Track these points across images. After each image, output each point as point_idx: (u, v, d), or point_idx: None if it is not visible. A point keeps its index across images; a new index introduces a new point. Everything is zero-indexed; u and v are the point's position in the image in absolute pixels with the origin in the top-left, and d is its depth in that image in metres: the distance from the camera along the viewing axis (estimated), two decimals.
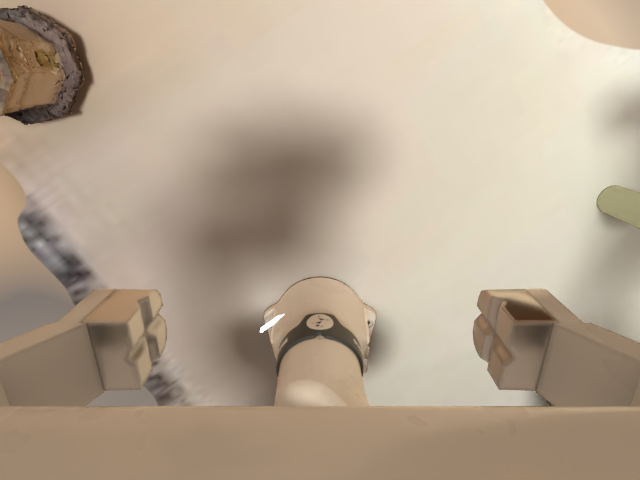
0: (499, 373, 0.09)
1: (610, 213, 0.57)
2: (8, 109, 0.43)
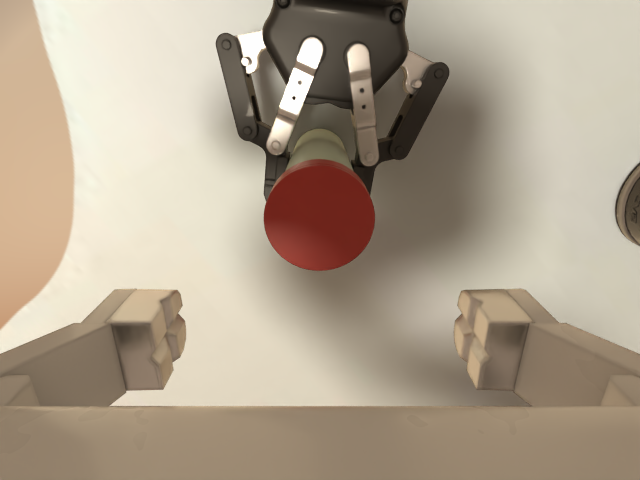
0: (477, 373, 0.09)
1: None
2: None
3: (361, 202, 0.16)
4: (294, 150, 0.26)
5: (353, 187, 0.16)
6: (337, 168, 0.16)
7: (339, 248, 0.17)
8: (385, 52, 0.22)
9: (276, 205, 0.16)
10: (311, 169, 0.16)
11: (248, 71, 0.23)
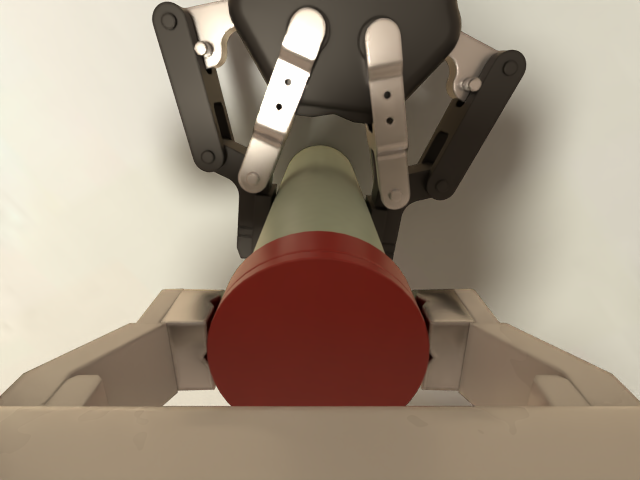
0: None
1: None
2: None
3: (404, 326, 0.08)
4: (282, 182, 0.18)
5: (388, 299, 0.08)
6: (356, 262, 0.08)
7: (357, 405, 0.09)
8: (425, 34, 0.14)
9: (230, 332, 0.08)
10: (301, 265, 0.07)
11: (208, 65, 0.15)
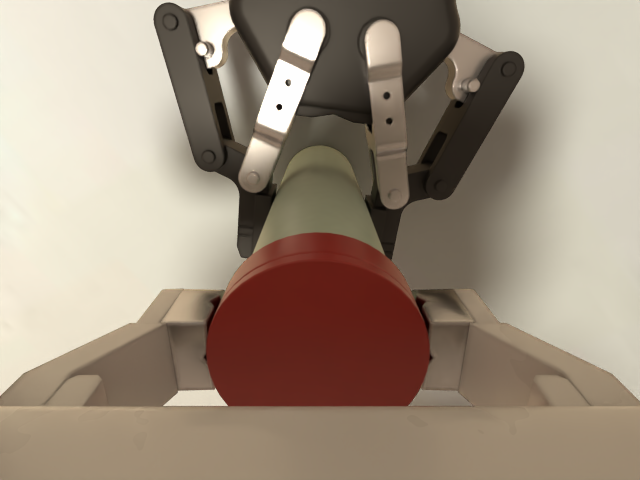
0: None
1: None
2: None
3: (324, 279, 0.08)
4: (282, 182, 0.18)
5: (286, 279, 0.08)
6: (236, 287, 0.08)
7: (391, 355, 0.08)
8: (424, 35, 0.14)
9: None
10: (215, 330, 0.08)
11: (209, 65, 0.15)
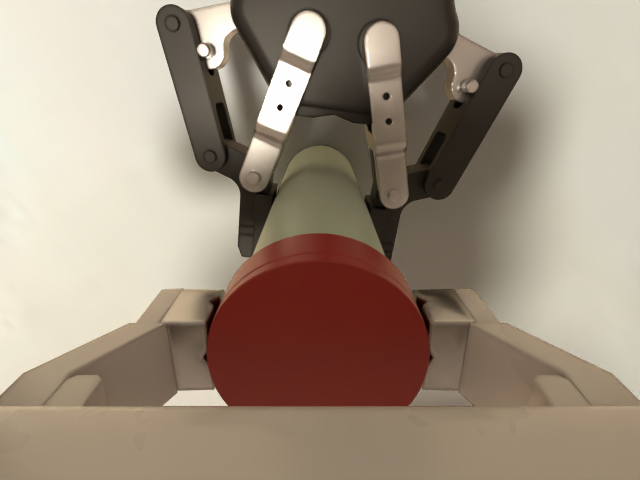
0: None
1: None
2: None
3: (237, 319, 0.08)
4: (283, 181, 0.18)
5: (222, 345, 0.08)
6: (214, 381, 0.09)
7: (348, 303, 0.08)
8: (423, 36, 0.14)
9: None
10: None
11: (210, 66, 0.15)
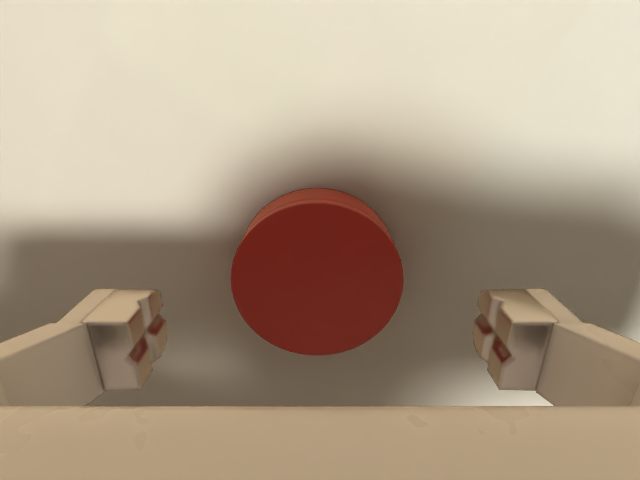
0: (499, 373, 0.09)
1: None
2: None
3: (254, 251, 0.10)
4: None
5: (243, 272, 0.11)
6: (236, 302, 0.11)
7: (339, 237, 0.10)
8: None
9: (330, 342, 0.11)
10: (258, 330, 0.11)
11: None
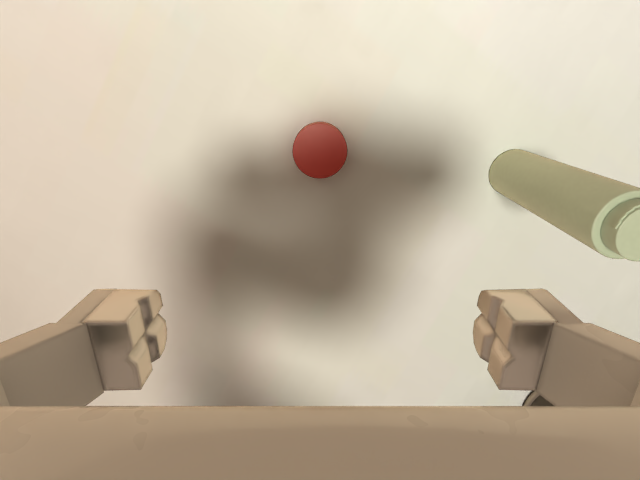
0: (499, 373, 0.09)
1: None
2: None
3: (300, 139, 0.34)
4: (556, 161, 0.30)
5: (296, 146, 0.34)
6: None
7: (326, 134, 0.34)
8: None
9: (324, 173, 0.35)
10: (300, 168, 0.35)
11: None
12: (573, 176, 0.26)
